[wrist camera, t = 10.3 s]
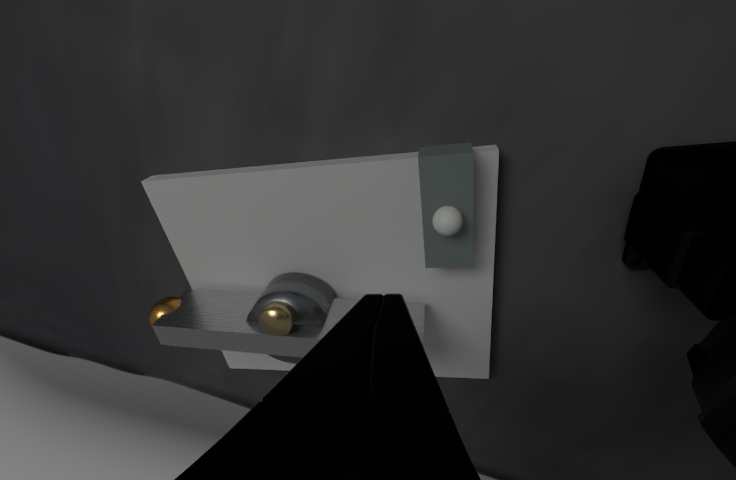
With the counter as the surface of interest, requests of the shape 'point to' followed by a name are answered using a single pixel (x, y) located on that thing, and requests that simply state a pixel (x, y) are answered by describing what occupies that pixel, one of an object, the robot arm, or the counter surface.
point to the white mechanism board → (350, 237)
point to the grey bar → (258, 318)
